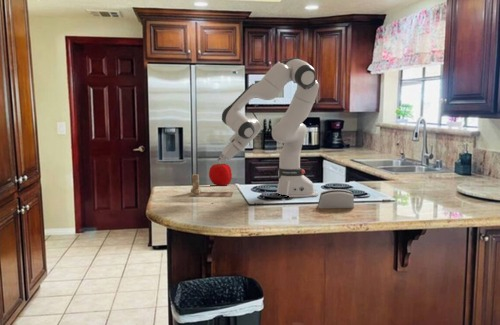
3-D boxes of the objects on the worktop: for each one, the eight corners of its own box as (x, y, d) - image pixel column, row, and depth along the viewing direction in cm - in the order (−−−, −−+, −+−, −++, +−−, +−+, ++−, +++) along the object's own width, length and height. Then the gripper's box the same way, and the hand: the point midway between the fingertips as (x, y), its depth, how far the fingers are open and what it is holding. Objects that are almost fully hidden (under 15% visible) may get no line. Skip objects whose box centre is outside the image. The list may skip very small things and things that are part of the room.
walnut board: (233, 194, 230) (233, 191, 230) (231, 199, 217) (231, 196, 217) (192, 194, 231) (192, 191, 230) (188, 199, 218) (188, 196, 217)
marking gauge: (201, 192, 229) (200, 173, 228) (199, 194, 223) (198, 175, 222) (192, 192, 229) (192, 173, 228) (190, 194, 223) (190, 175, 222)
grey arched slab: (351, 205, 204) (354, 187, 199) (354, 210, 200) (356, 192, 195) (317, 205, 204) (318, 187, 199) (318, 211, 200) (320, 193, 195)
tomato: (231, 187, 249) (231, 164, 247) (207, 187, 249) (207, 164, 247) (232, 182, 264) (232, 160, 263) (210, 182, 265) (210, 160, 263)
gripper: (231, 137, 233) (213, 155, 234) (234, 141, 213) (215, 160, 214) (239, 145, 235) (221, 163, 235) (243, 149, 215) (224, 169, 215)
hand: (218, 162), depth 224 cm, fingers open, 8 cm apart
